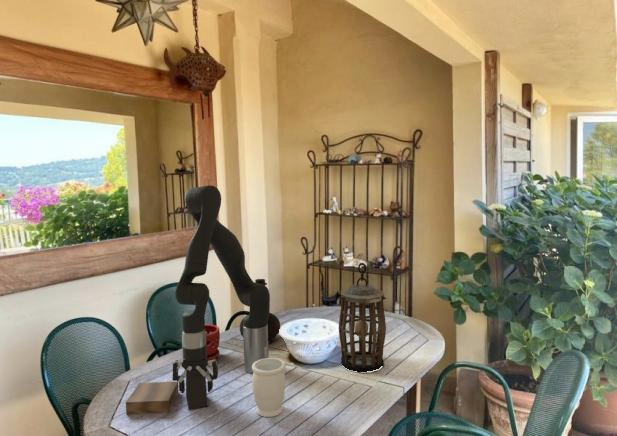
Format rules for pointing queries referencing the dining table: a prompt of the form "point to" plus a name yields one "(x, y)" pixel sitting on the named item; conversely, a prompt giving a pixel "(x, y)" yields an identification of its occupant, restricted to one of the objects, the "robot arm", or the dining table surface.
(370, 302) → the lantern
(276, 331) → the black rounded vessel
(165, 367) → the dining table surface
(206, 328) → the plant pot
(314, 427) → the dining table surface
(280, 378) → the jar
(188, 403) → the phone stand
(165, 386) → the walnut plinth
